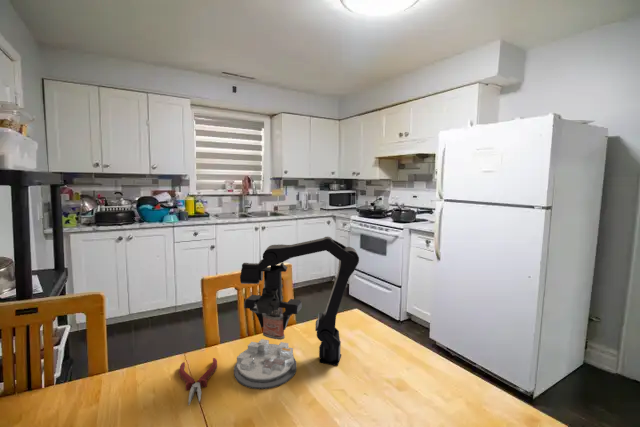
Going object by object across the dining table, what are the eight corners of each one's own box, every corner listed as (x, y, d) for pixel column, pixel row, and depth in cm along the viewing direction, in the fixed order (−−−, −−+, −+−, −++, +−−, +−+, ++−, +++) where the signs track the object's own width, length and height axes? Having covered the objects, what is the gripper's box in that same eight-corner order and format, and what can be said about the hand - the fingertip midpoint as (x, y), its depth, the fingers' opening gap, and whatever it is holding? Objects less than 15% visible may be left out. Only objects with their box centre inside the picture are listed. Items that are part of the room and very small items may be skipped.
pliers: (171, 412, 84) (170, 403, 84) (180, 368, 103) (180, 361, 103) (216, 404, 87) (216, 395, 87) (217, 363, 107) (217, 355, 106)
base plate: (304, 356, 110) (304, 353, 110) (283, 394, 91) (283, 390, 91) (251, 348, 115) (251, 345, 115) (221, 382, 96) (221, 378, 96)
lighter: (286, 336, 107) (285, 307, 106) (281, 340, 104) (280, 311, 103) (266, 331, 111) (265, 303, 110) (260, 335, 108) (260, 307, 107)
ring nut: (300, 353, 109) (301, 342, 109) (281, 386, 92) (281, 373, 91) (253, 346, 114) (252, 335, 113) (225, 376, 96) (225, 363, 96)
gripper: (235, 289, 100) (236, 336, 102) (291, 295, 96) (291, 344, 97) (251, 278, 111) (252, 320, 113) (302, 283, 106) (302, 327, 108)
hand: (273, 328), depth 107 cm, fingers closed on lighter, 8 cm apart
